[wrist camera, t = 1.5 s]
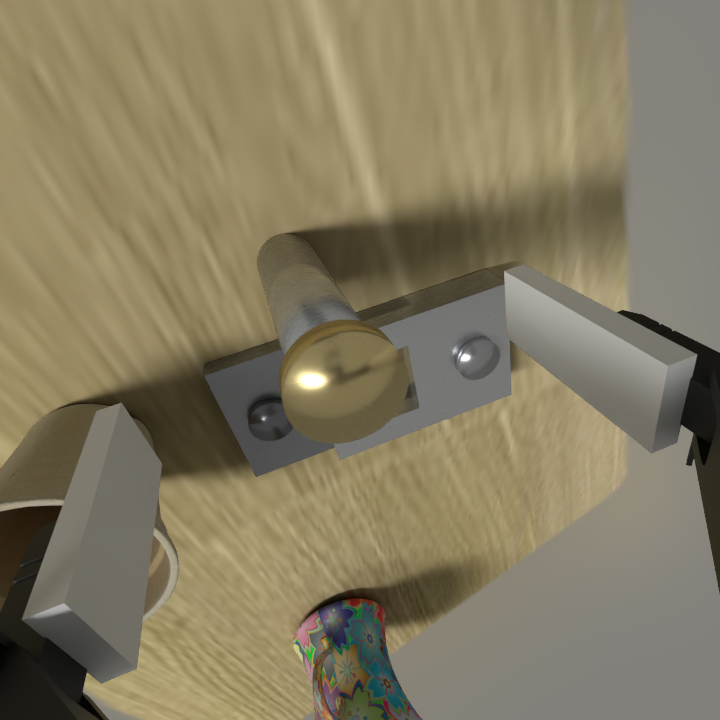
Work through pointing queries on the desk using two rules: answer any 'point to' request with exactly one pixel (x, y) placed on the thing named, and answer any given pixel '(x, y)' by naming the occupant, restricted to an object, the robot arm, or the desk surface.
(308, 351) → the pin
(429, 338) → the grey slotted base plate
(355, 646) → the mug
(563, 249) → the desk surface
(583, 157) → the desk surface
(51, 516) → the flower pot
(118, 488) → the robot arm
